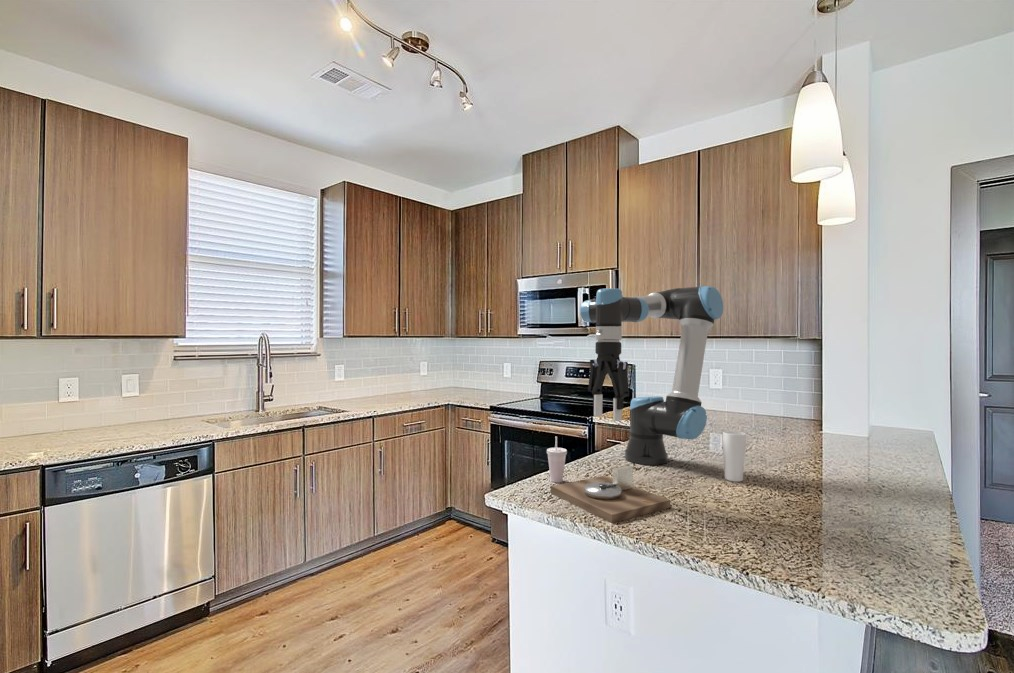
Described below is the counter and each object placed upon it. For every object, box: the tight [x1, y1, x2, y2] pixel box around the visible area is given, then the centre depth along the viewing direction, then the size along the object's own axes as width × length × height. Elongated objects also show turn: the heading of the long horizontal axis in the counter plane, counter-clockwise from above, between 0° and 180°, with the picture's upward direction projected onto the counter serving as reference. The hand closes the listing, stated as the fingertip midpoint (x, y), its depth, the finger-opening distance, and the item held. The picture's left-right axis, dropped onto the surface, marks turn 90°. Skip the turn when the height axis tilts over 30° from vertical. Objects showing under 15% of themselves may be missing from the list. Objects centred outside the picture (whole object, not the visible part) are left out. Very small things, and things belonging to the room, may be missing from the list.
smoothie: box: [546, 436, 568, 484], centre depth 150 cm, size 6×6×14 cm
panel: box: [550, 475, 671, 524], centre depth 133 cm, size 21×25×2 cm
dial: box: [584, 465, 634, 500], centre depth 133 cm, size 16×10×6 cm, turn 121°
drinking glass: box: [722, 430, 747, 483], centre depth 153 cm, size 7×7×15 cm
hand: (607, 418), depth 142 cm, fingers open, 8 cm apart
